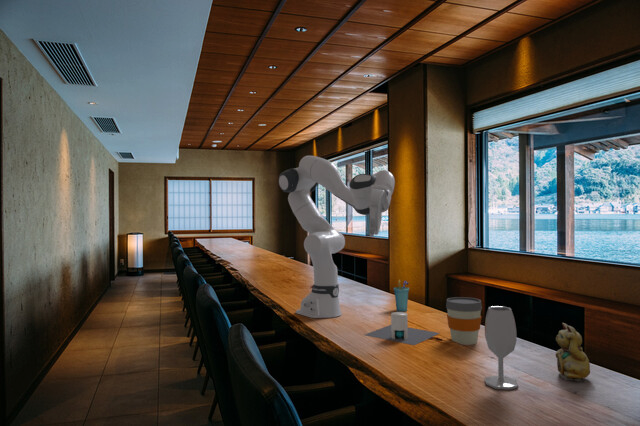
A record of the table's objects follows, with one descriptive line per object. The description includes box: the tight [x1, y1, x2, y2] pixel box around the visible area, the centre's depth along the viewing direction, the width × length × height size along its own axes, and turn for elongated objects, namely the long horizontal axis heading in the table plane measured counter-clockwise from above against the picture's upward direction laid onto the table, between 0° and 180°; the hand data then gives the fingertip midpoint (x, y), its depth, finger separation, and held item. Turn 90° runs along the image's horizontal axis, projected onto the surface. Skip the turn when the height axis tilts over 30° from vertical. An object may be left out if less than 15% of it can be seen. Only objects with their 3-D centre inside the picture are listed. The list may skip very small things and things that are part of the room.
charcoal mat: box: [364, 324, 441, 346], centre depth 176 cm, size 22×20×1 cm
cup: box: [393, 279, 410, 313], centre depth 218 cm, size 14×8×15 cm, turn 12°
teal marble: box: [396, 330, 404, 338], centre depth 171 cm, size 3×3×3 cm
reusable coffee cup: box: [445, 296, 483, 346], centre depth 166 cm, size 13×13×15 cm
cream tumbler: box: [390, 311, 409, 340], centre depth 171 cm, size 6×6×9 cm
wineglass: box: [484, 305, 519, 391], centre depth 125 cm, size 9×9×21 cm
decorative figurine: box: [555, 322, 591, 382], centre depth 129 cm, size 10×8×15 cm
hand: (371, 226), depth 171 cm, fingers open, 8 cm apart
